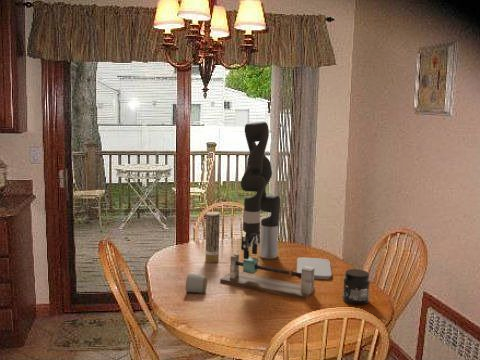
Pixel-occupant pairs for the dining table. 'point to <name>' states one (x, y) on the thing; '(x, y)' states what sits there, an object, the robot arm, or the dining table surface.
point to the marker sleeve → (250, 265)
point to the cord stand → (272, 280)
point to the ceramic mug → (196, 283)
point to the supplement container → (356, 287)
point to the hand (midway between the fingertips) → (250, 256)
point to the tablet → (319, 264)
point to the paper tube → (212, 236)
